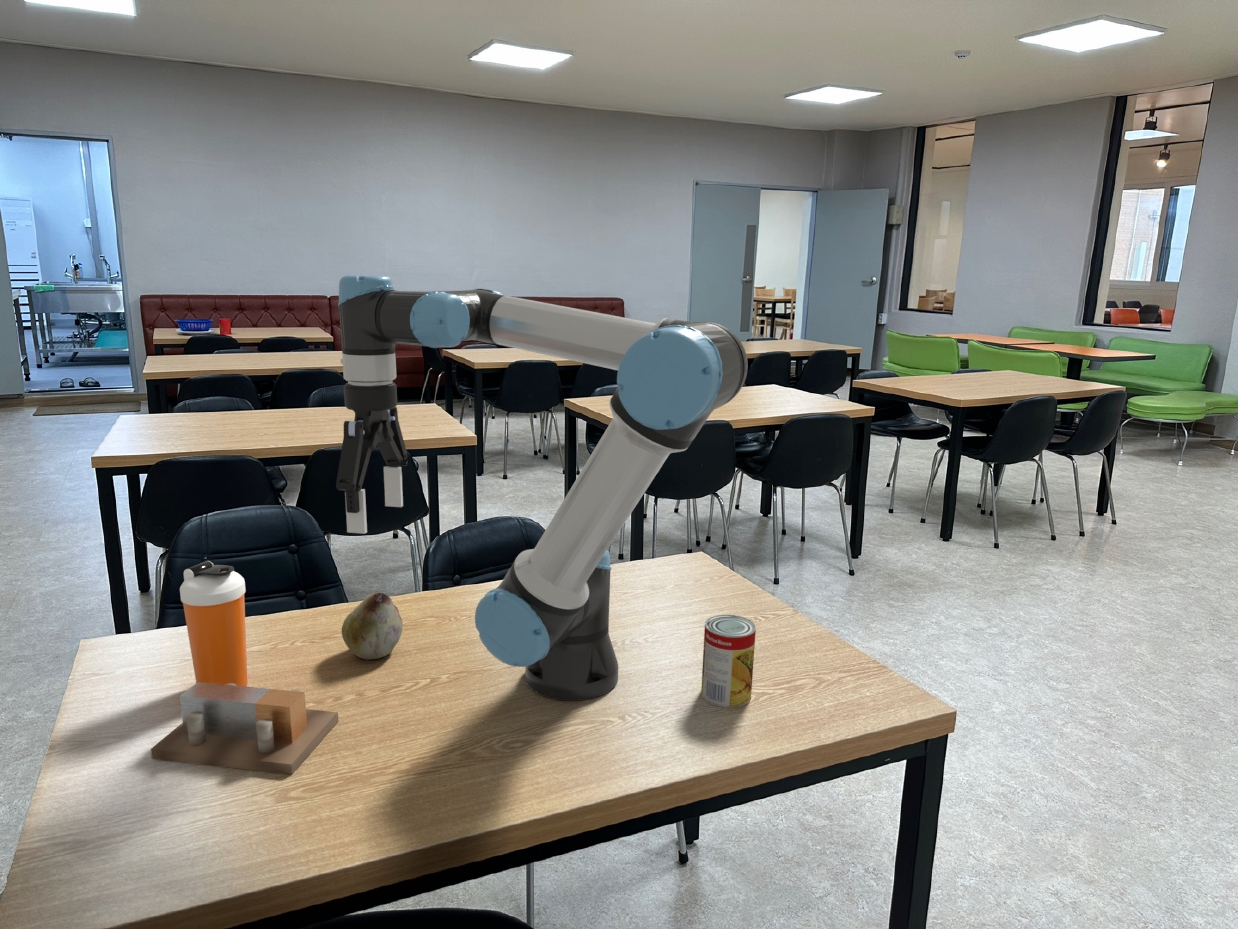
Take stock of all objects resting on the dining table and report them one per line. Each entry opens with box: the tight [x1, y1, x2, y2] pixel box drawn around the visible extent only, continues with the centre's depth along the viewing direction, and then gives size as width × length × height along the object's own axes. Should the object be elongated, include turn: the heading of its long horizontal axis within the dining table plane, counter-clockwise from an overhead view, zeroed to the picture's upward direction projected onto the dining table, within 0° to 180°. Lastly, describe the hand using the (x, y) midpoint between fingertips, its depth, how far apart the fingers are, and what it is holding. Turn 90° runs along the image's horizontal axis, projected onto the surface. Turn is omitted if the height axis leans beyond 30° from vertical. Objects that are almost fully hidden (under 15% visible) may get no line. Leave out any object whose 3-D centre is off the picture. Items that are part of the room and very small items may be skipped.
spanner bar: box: [179, 682, 307, 744], centre depth 115 cm, size 16×4×6 cm, turn 82°
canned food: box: [700, 614, 757, 709], centre depth 130 cm, size 8×8×12 cm
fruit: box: [341, 592, 404, 660], centre depth 140 cm, size 10×9×12 cm
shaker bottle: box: [179, 560, 248, 687], centre depth 127 cm, size 9×9×20 cm
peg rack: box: [150, 683, 339, 775], centre depth 115 cm, size 20×13×6 cm, turn 82°
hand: (376, 518), depth 128 cm, fingers open, 13 cm apart
